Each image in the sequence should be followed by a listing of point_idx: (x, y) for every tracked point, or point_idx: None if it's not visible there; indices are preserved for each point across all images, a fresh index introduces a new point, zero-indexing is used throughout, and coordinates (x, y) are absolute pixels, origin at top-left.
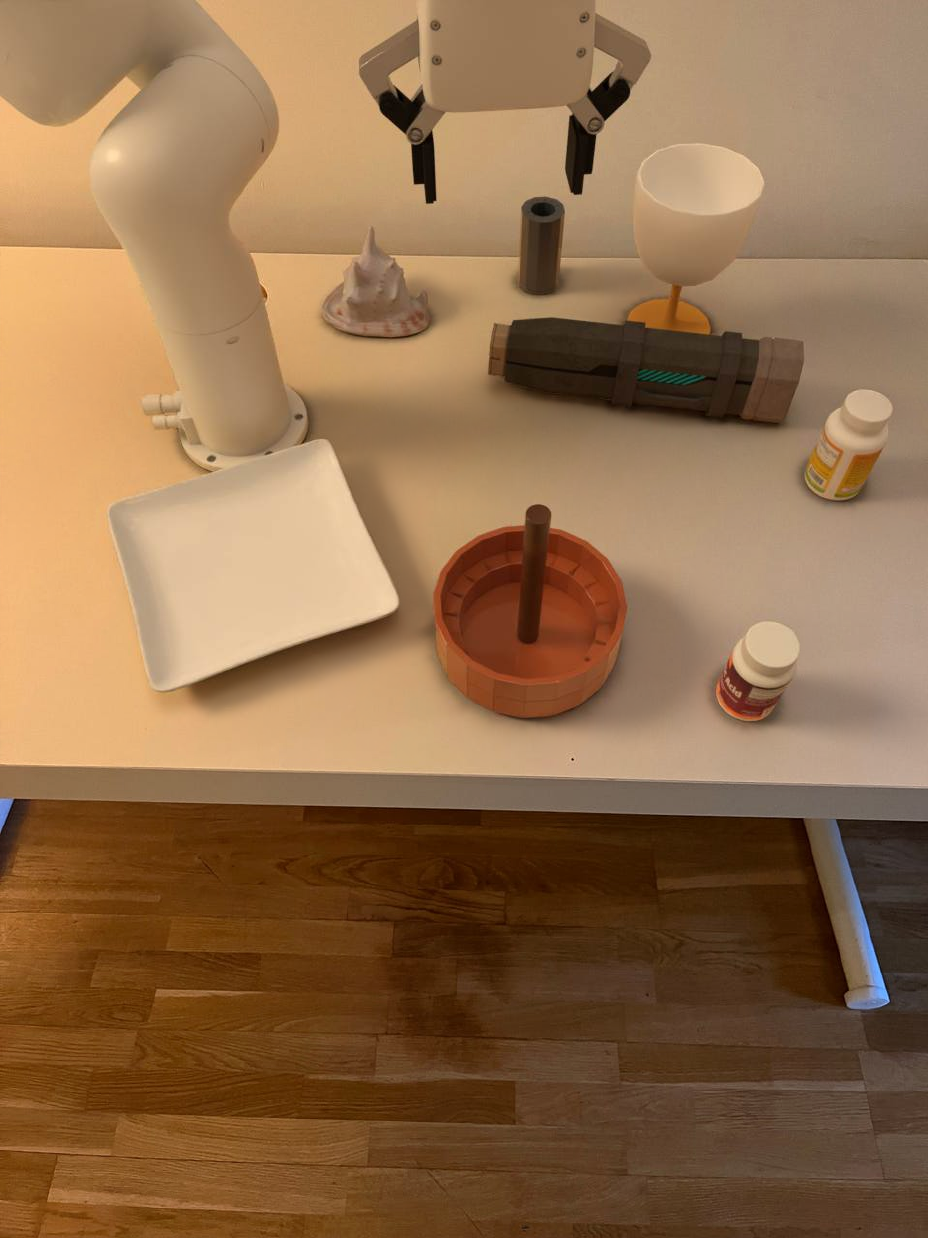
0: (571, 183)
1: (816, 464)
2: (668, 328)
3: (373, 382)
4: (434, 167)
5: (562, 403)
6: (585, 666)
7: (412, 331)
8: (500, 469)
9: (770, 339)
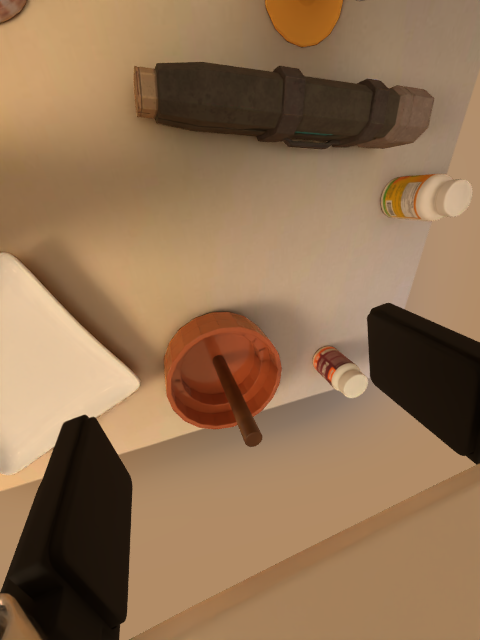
0: (382, 387)
1: (395, 207)
2: (306, 1)
3: (5, 120)
4: (127, 561)
5: (211, 134)
6: (261, 408)
7: (11, 12)
8: (173, 226)
9: (410, 98)
